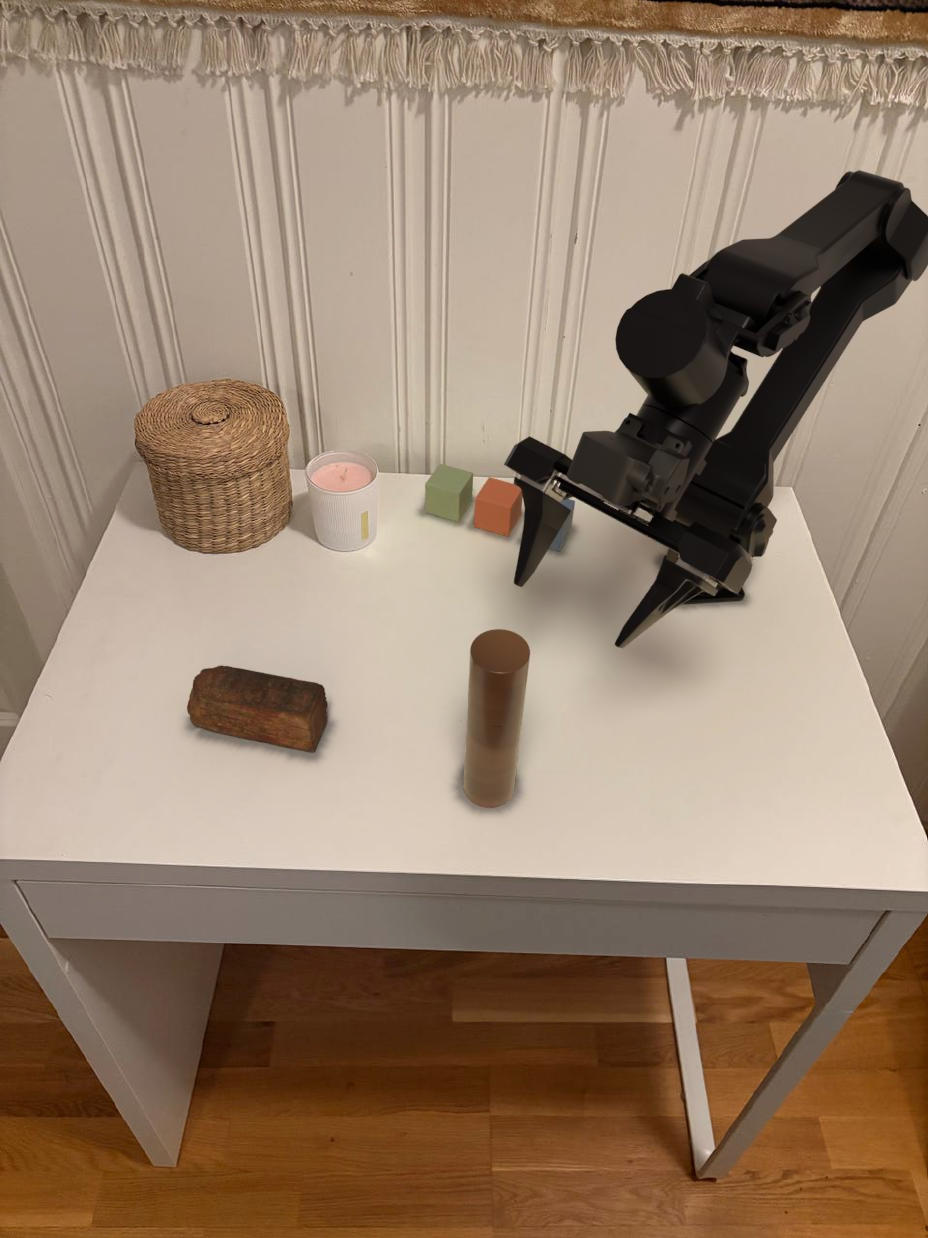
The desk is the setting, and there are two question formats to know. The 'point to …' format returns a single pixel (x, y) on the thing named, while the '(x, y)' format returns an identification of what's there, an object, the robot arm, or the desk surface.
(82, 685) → the desk surface
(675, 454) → the robot arm
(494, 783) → the walnut cylinder
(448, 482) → the colored block line
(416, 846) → the desk surface
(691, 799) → the desk surface
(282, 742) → the brick
